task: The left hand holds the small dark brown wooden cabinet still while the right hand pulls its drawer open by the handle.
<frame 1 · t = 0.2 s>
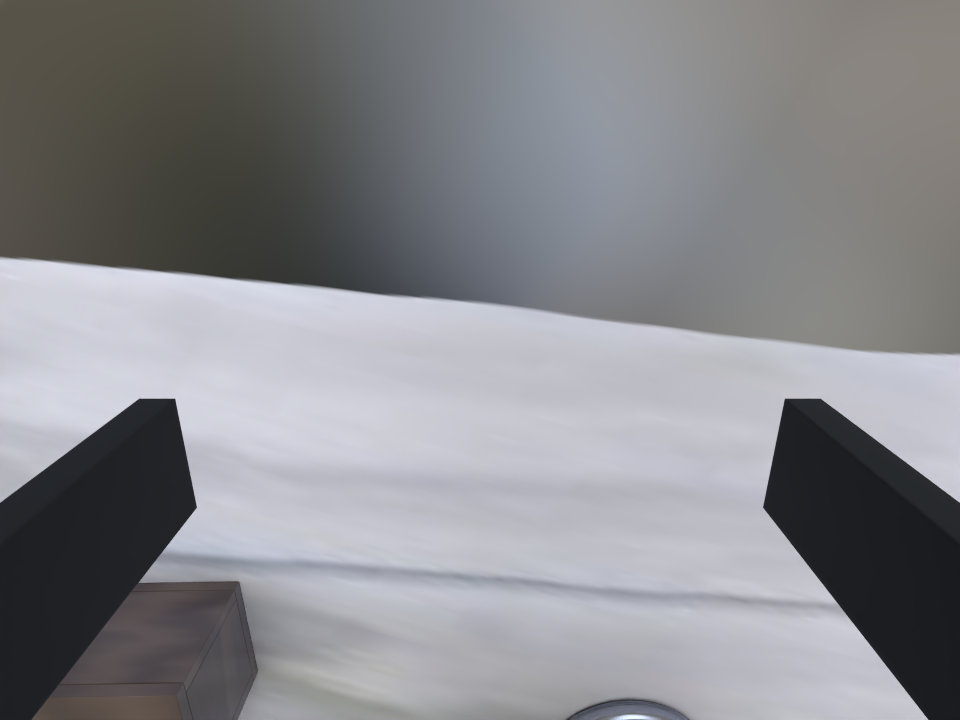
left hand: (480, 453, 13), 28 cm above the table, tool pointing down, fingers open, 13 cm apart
cabinet: (137, 630, 51), on the table
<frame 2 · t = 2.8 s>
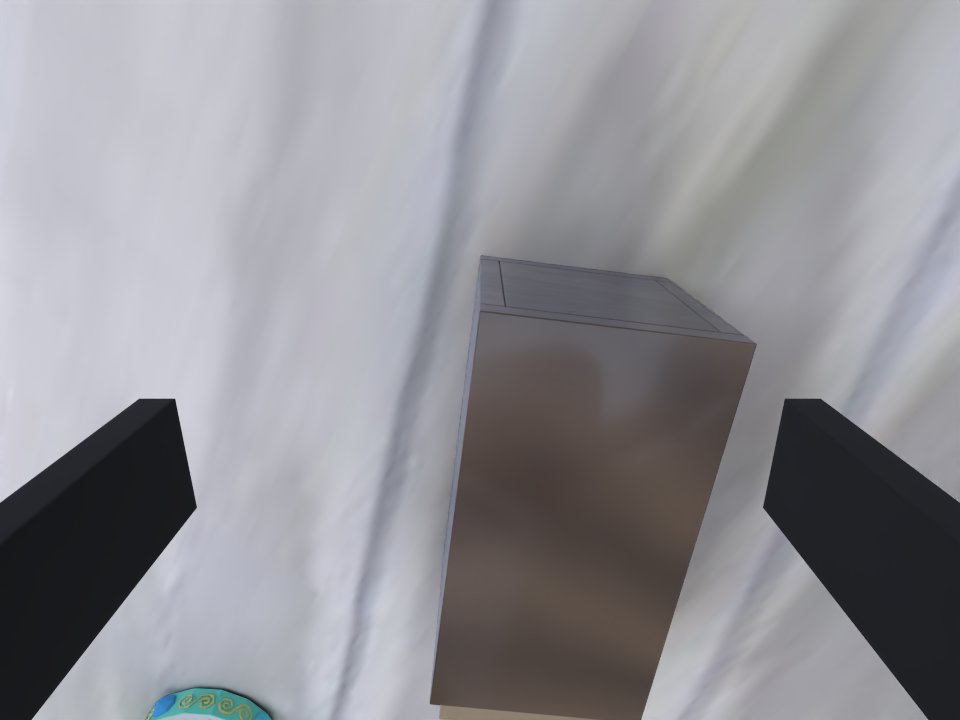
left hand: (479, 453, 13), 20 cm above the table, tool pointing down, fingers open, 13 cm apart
cabinet: (545, 428, 34), on the table
drawer: (538, 570, 31), point 5 cm above the table, slide at 1.0 cm
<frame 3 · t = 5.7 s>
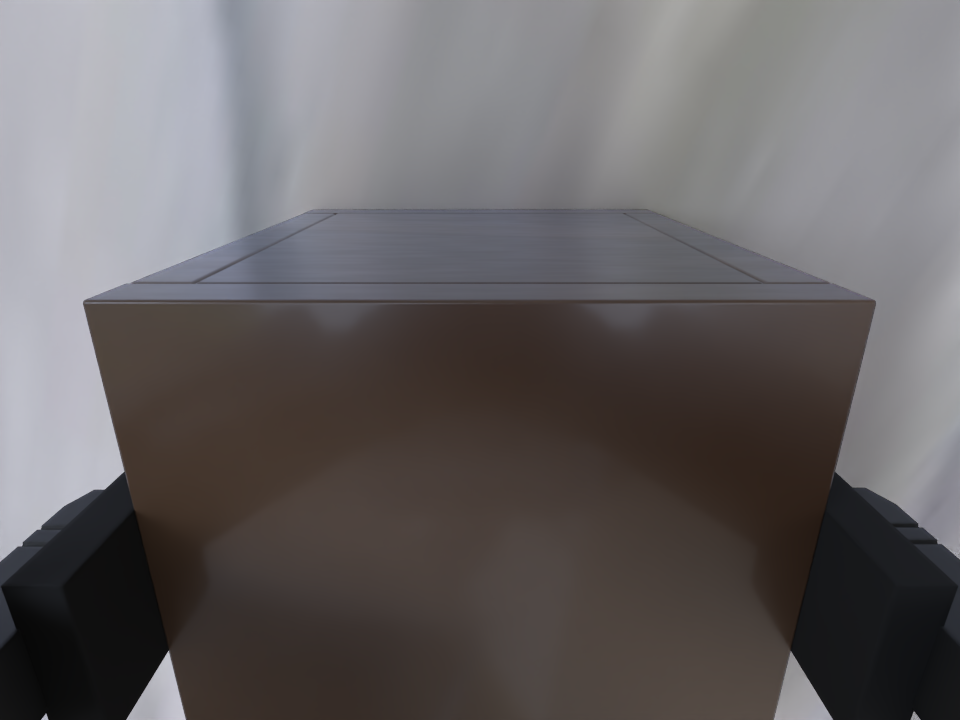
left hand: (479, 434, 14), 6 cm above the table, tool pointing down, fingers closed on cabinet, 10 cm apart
cabinet: (480, 487, 21), on the table, touching left hand
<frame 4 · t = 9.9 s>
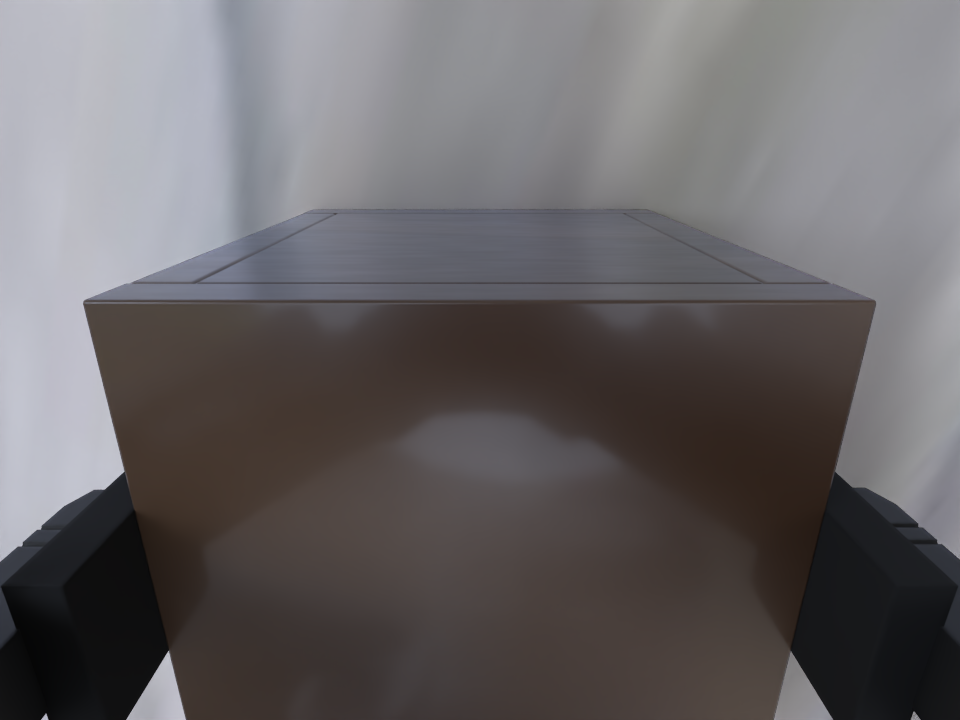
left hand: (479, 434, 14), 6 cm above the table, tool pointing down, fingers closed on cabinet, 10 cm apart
cabinet: (480, 487, 21), on the table, touching left hand
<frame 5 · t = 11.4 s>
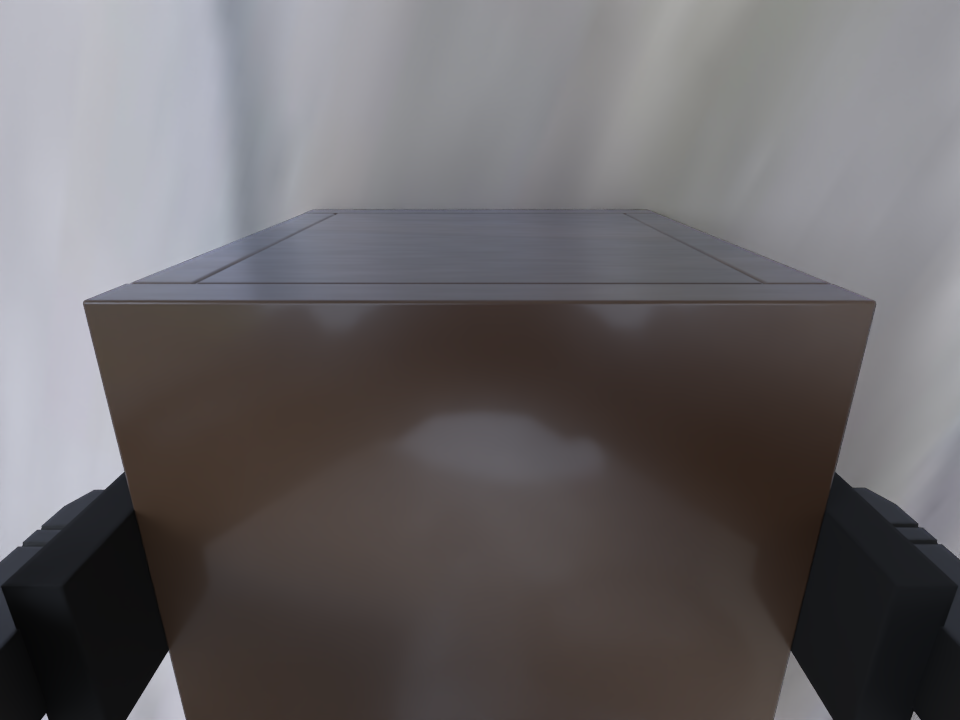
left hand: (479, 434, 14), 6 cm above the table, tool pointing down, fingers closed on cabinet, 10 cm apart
cabinet: (480, 487, 21), on the table, touching left hand
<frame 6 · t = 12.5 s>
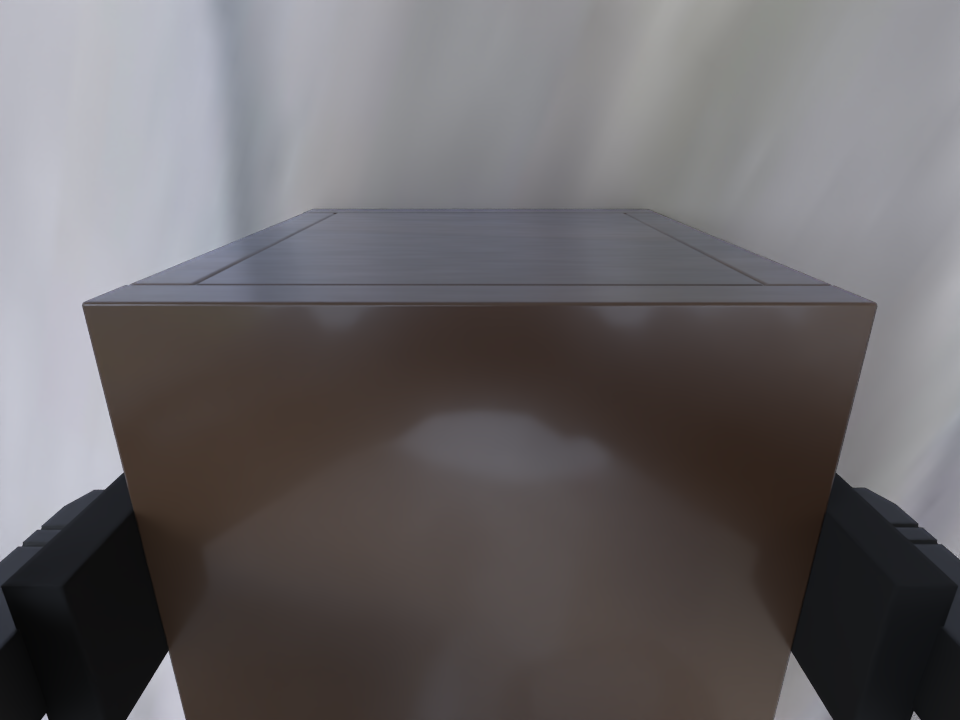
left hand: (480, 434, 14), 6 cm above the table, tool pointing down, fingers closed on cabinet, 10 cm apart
cabinet: (480, 486, 21), on the table, touching left hand
when the left hand's fingers open (6 cm above the table, at t = 14.2 s): cabinet stays where it is, on the table.
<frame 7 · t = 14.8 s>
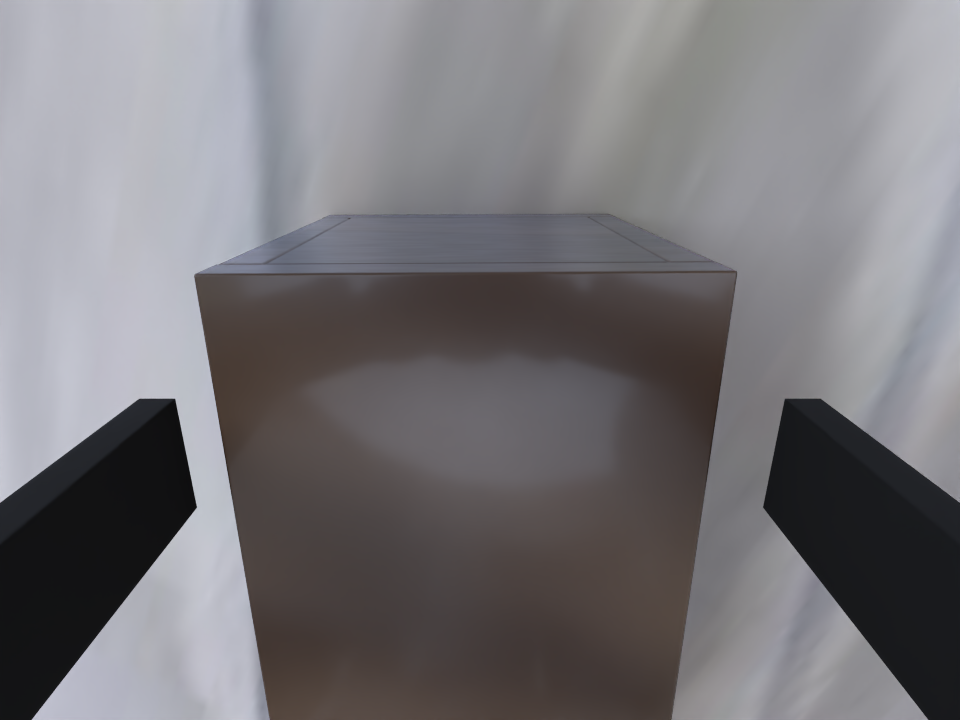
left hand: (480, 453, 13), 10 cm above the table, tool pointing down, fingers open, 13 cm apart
cabinet: (471, 453, 24), on the table
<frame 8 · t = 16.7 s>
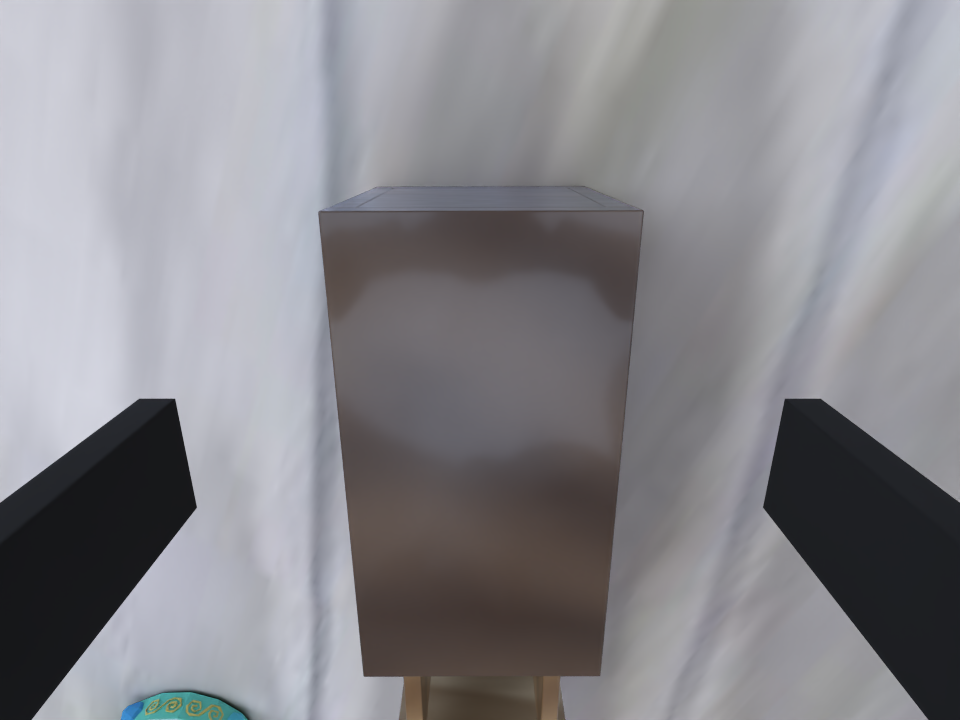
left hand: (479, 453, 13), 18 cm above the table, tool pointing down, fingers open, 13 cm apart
cabinet: (481, 372, 32), on the table
drawer: (481, 627, 31), point 5 cm above the table, slide at 7.6 cm
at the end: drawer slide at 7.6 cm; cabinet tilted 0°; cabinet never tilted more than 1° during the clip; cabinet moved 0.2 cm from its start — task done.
